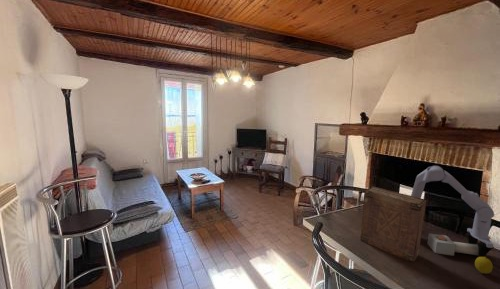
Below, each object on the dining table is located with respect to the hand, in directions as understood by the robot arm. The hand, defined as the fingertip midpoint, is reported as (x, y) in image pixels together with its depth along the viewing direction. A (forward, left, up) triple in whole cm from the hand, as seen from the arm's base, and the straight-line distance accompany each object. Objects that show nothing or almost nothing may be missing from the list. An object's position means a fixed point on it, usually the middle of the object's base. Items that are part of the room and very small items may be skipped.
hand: (476, 252), depth 112 cm
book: (-42, -5, -2) cm, 42 cm away
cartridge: (-5, 0, -1) cm, 5 cm away
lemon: (-7, -15, -2) cm, 16 cm away
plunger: (-15, 0, +4) cm, 16 cm away
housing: (-16, 0, -1) cm, 16 cm away
